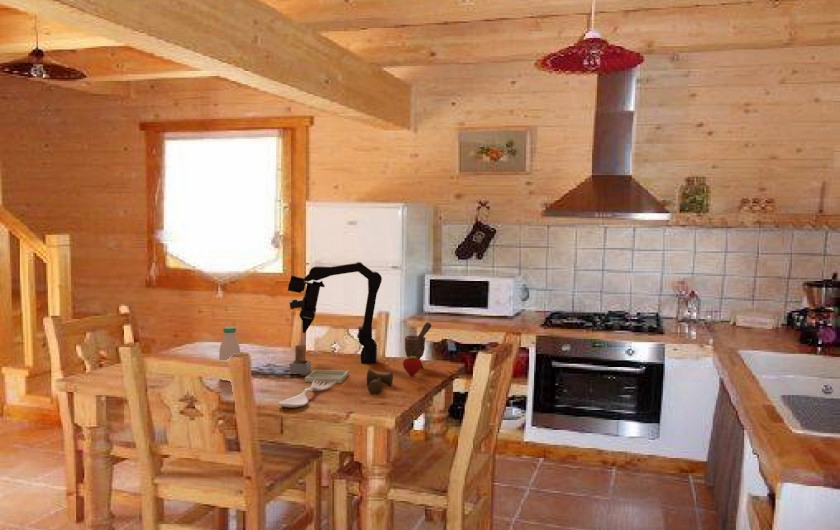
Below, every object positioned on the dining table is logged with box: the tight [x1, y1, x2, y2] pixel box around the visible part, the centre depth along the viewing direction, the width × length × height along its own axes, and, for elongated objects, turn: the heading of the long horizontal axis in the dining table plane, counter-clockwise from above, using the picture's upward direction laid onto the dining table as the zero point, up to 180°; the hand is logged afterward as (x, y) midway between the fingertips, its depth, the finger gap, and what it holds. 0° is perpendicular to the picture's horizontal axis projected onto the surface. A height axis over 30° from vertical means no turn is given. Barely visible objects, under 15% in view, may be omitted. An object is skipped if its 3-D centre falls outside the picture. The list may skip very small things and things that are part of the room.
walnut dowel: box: [294, 344, 307, 364], centre depth 259 cm, size 4×4×11 cm
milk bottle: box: [218, 326, 241, 382], centre depth 249 cm, size 8×8×20 cm
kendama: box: [366, 369, 394, 395], centre depth 241 cm, size 6×10×20 cm
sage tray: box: [304, 369, 350, 385], centre depth 251 cm, size 14×14×2 cm
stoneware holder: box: [289, 359, 312, 376], centre depth 259 cm, size 7×7×5 cm
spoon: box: [278, 379, 337, 409], centre depth 225 cm, size 9×32×4 cm, turn 165°
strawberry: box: [402, 352, 423, 378], centre depth 258 cm, size 6×8×10 cm
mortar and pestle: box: [404, 321, 432, 369], centre depth 273 cm, size 12×9×20 cm
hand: (304, 330), depth 279 cm, fingers open, 9 cm apart
